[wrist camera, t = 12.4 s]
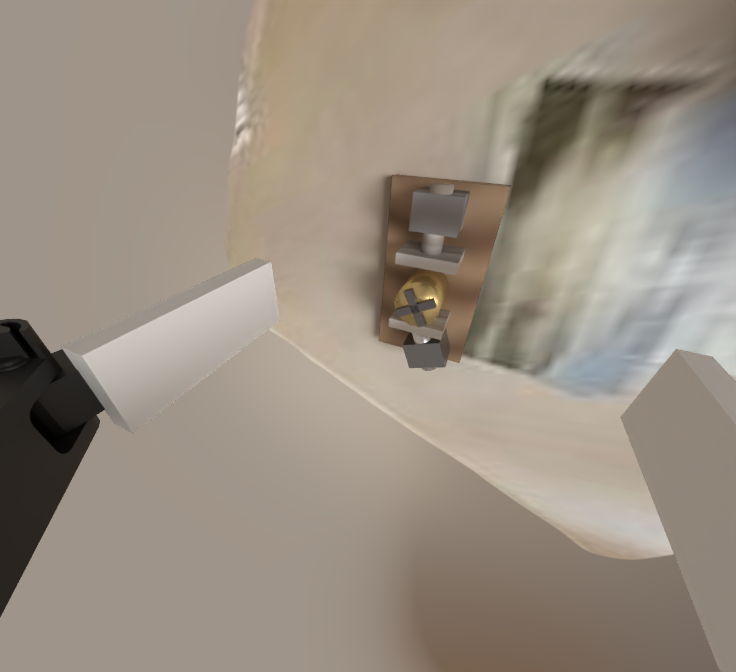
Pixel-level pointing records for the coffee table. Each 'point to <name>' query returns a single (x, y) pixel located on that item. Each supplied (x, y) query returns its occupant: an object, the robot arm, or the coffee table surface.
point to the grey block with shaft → (426, 351)
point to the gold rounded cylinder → (421, 297)
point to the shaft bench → (468, 267)
